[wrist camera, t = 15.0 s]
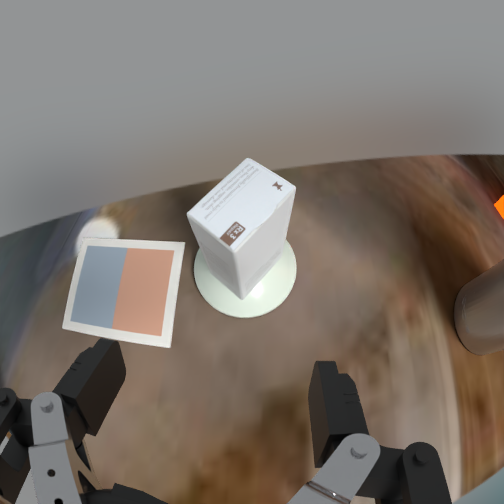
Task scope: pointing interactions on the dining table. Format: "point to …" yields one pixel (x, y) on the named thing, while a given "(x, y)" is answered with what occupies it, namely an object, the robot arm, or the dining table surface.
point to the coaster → (259, 299)
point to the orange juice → (500, 206)
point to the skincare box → (243, 225)
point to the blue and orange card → (125, 290)
